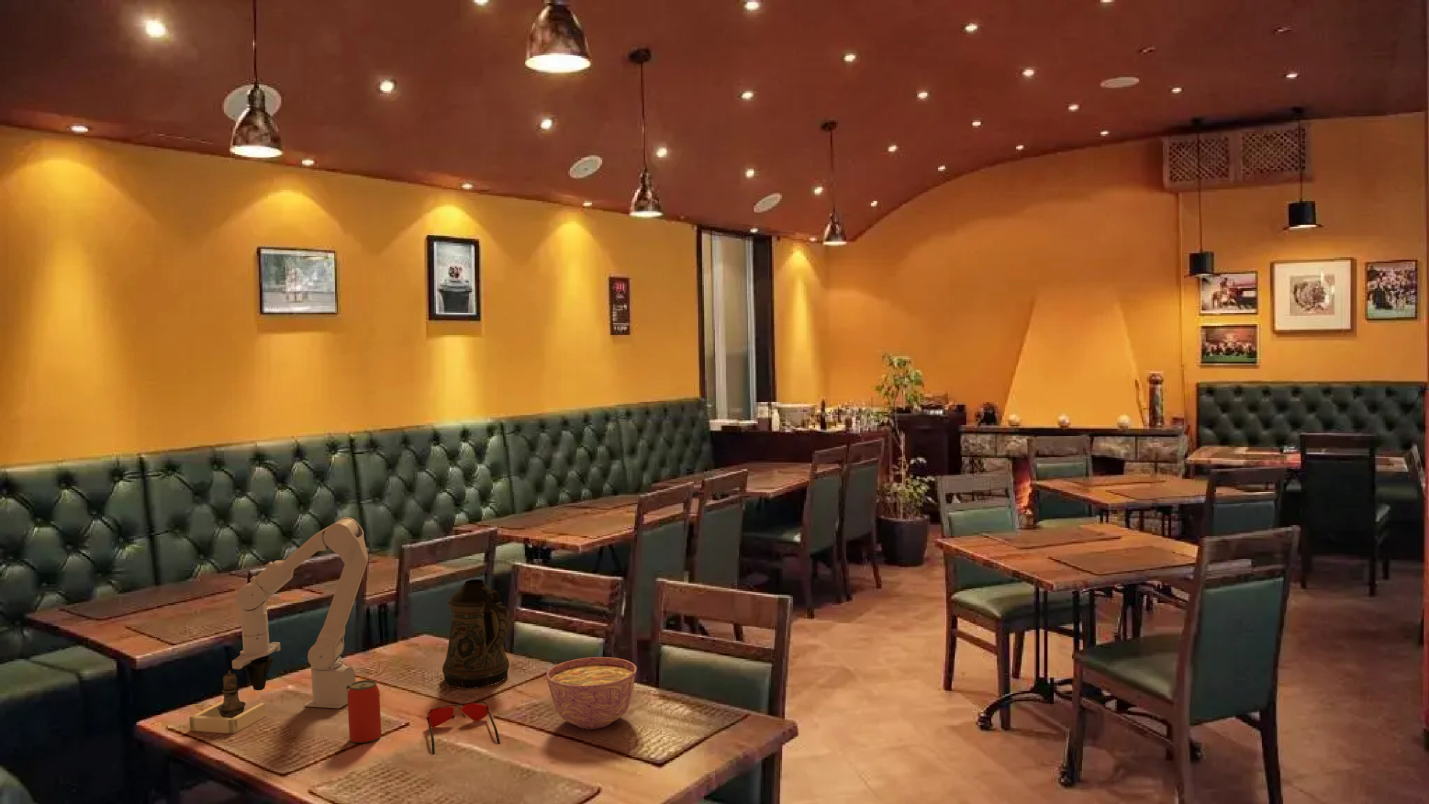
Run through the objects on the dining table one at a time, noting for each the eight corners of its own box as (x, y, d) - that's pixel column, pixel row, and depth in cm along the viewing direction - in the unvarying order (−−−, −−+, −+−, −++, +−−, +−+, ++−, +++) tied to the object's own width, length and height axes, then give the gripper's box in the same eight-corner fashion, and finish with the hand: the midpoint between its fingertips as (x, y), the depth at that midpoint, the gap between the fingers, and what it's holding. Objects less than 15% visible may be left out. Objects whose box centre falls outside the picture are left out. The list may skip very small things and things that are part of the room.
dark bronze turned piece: (235, 726, 230) (232, 674, 230) (212, 725, 231) (209, 673, 231) (252, 717, 236) (249, 666, 235) (229, 716, 237) (226, 665, 236)
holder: (266, 715, 236) (265, 703, 236) (233, 733, 226) (233, 720, 226) (224, 713, 239) (223, 700, 239) (190, 730, 229) (189, 717, 228)
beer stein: (458, 667, 268) (453, 573, 267) (529, 668, 266) (525, 573, 264) (432, 688, 252) (427, 588, 251) (507, 690, 249) (503, 589, 248)
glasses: (489, 719, 231) (488, 697, 231) (500, 745, 216) (499, 722, 215) (425, 728, 226) (424, 706, 226) (432, 756, 211) (431, 732, 211)
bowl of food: (657, 719, 227) (655, 668, 226) (588, 747, 212) (585, 692, 212) (598, 699, 240) (596, 651, 240) (529, 724, 226) (527, 673, 225)
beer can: (352, 746, 216) (349, 691, 216) (347, 736, 222) (344, 682, 222) (384, 740, 219) (381, 685, 219) (378, 730, 225) (376, 677, 225)
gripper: (261, 624, 250) (264, 678, 250) (219, 641, 236) (223, 699, 236) (286, 624, 248) (289, 679, 249) (245, 642, 234) (249, 700, 235)
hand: (259, 689), depth 242 cm, fingers closed
